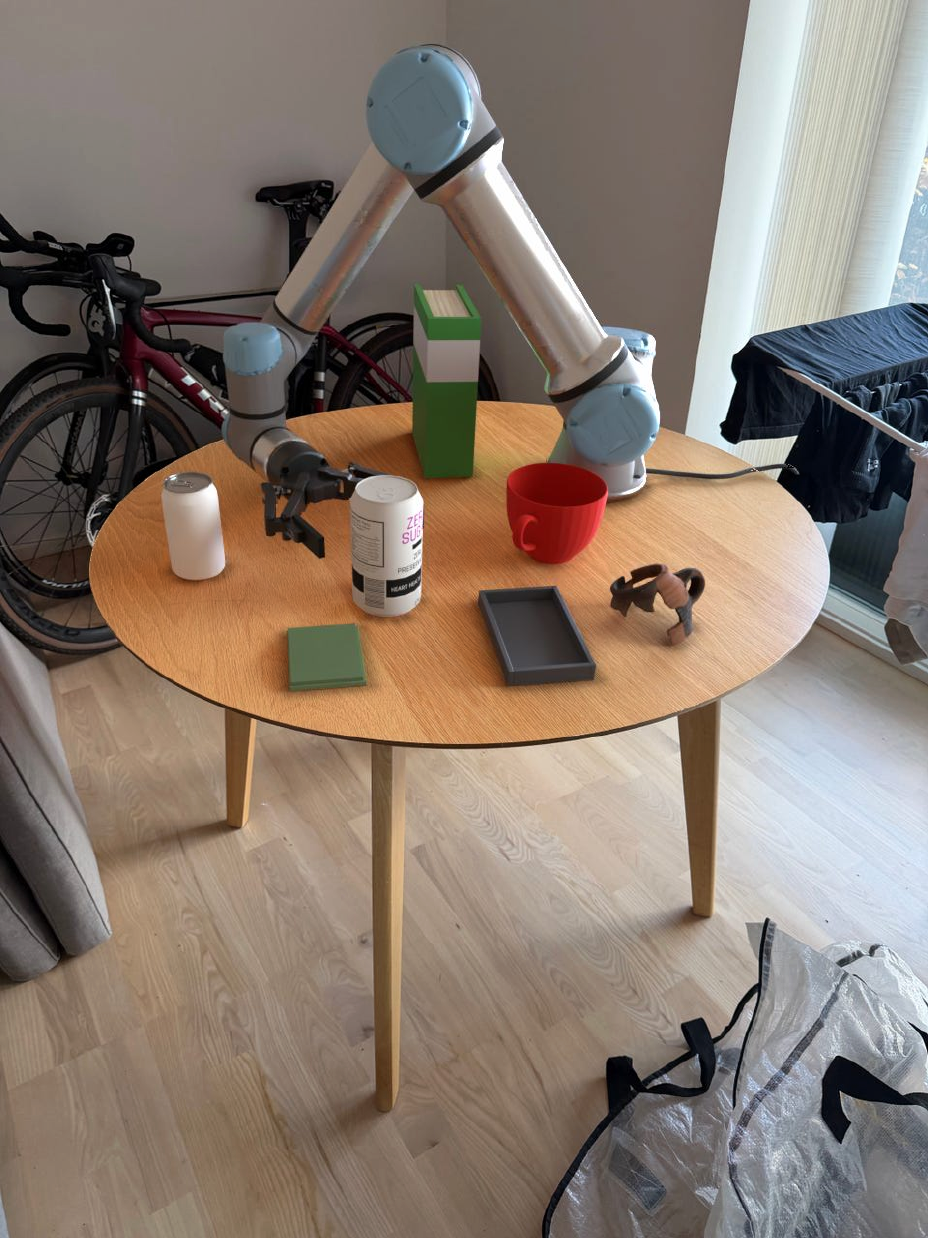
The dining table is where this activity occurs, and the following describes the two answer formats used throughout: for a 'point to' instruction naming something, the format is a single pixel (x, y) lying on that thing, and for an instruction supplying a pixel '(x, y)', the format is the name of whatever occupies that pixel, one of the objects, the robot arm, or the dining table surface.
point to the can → (193, 526)
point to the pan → (535, 636)
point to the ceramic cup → (554, 510)
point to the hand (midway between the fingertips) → (373, 533)
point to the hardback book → (445, 381)
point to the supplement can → (386, 545)
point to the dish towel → (325, 657)
